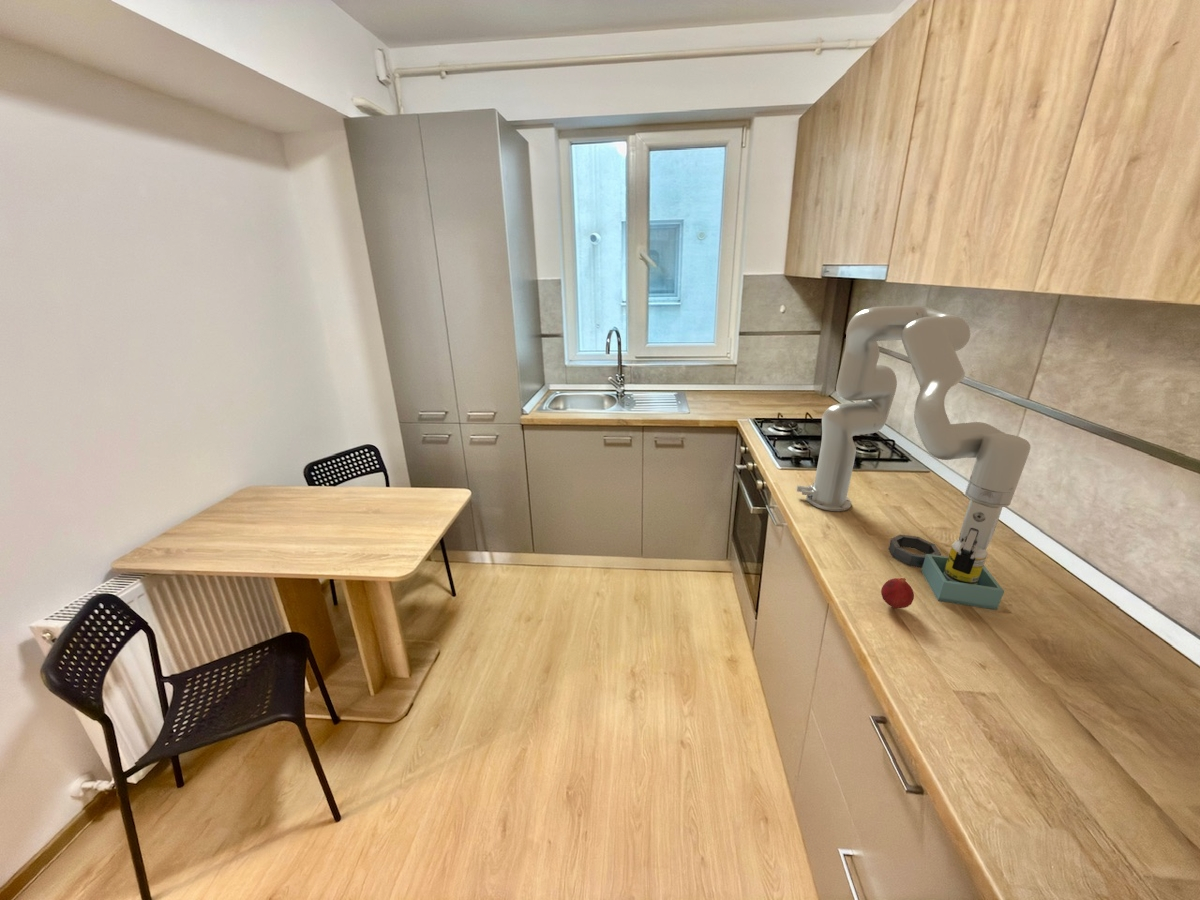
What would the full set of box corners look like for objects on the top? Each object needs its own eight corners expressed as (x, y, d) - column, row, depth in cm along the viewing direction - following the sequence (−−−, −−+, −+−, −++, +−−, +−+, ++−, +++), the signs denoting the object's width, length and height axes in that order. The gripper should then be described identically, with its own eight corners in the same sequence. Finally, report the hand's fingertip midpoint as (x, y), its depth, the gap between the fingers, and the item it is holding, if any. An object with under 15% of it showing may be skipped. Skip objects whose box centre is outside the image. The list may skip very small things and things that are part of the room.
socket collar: (896, 564, 115) (898, 554, 114) (885, 542, 124) (887, 532, 123) (942, 570, 113) (945, 560, 111) (928, 548, 122) (931, 538, 120)
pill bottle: (943, 567, 109) (956, 526, 105) (976, 576, 106) (991, 535, 102) (942, 581, 105) (956, 539, 101) (977, 591, 101) (992, 548, 97)
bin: (937, 600, 103) (944, 582, 101) (921, 571, 113) (926, 553, 111) (996, 610, 100) (1004, 590, 98) (974, 578, 110) (980, 561, 108)
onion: (880, 612, 99) (888, 582, 96) (876, 596, 104) (884, 566, 101) (911, 619, 97) (921, 588, 94) (906, 602, 102) (915, 572, 99)
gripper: (1005, 513, 89) (977, 589, 96) (1018, 485, 100) (992, 555, 107) (957, 500, 94) (934, 573, 101) (975, 474, 105) (953, 542, 112)
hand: (964, 563), depth 104 cm, fingers closed on pill bottle, 6 cm apart
